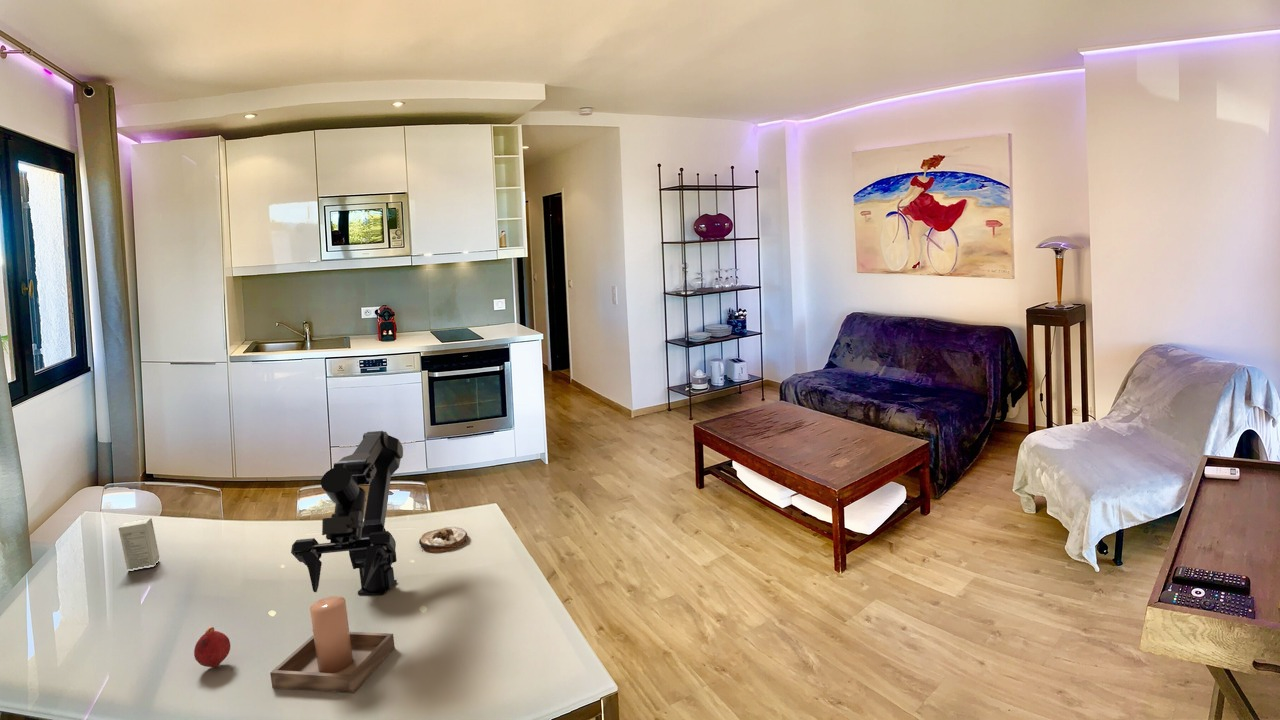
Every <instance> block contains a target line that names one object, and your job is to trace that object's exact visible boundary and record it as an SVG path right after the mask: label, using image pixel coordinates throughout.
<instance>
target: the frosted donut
mask: <svg viewBox="0 0 1280 720" xmlns="http://www.w3.org/2000/svg"><path fill="white" fill-rule="evenodd" d="M467 536H468V533H467V531H466V530H465V529H463V528H462V527H458V526H457V527H456V526H449V527H447V526H446V527H443V528H439V529H434V530H430V531H427V532H424V533H423V534H422V535H421V536H420V538H419V542H418V544H419V546H420V547H419V549H420V548H421V549H423V550H421V552H428V553H439V552H440V553H441V552H447V551H448V552H449V551H451V550H453V549H456V548H458V547H460V546H463V545H464V544H465V543H467V540H468V537H467ZM466 539H467V540H466ZM464 542H465V543H464ZM463 543H464V544H463ZM450 549H451V550H450Z"/></svg>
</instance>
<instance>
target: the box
mask: <svg viewBox="0 0 1280 720" xmlns="http://www.w3.org/2000/svg"><path fill="white" fill-rule="evenodd" d="M349 632H350V640H351V648H352V656H353V662H352V663H351V665H350V666H349V667H347V668H346V669H344V670H342V671H339V672H336V673H321V672H319V670H318V664H317V657H316V650H315V642H314V635H313V634H312V635H311V637H309V638H308V639H307V640H306V641H305V642H304V643H302V644H301V645H300V646H299V647H298V648H296V649H295V650H294V651H293V652H292V653H291V654H290V655H289V656H287V657H286V658H285V659H284V660H283V661H282V662H281V663H280V664H278V665H277V666H276V667H275V668H274V669H272V670H271V671H270V675H269V676H270V681H271V688H272V689H279V690H280V689H282V690H283V689H285V690H299V691H315V692H330V693H331V692H332V693H333V692H334V693H346V694H355V693H356V691H358V689H360V687H361V686H362V685H363V684H364V683H365V682H366V680H367V679H368V678H369V677H371V676H372V674H373V673H374V671H376V669H377V668H378V667H379V666H380V665H381V664H382V663H383V662H384V661H385V659H386V658H388V656H389V655H390V654H391V653H392V652H393V651H394V650H395V648H396V647H395V638H394V633H382V632H365V631H364V632H362V631H349Z"/></svg>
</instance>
